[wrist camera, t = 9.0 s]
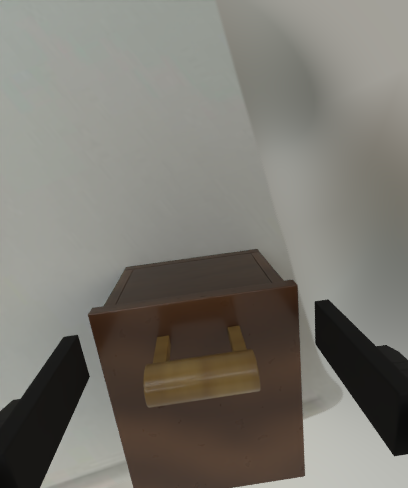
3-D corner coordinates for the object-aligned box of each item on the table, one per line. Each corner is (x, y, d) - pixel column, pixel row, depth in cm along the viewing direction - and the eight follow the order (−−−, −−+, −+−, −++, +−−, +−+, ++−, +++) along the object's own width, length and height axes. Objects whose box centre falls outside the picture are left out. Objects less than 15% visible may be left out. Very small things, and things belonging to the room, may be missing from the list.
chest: (125, 266, 25) (95, 319, 17) (257, 248, 25) (292, 291, 17) (152, 393, 29) (139, 489, 20) (267, 376, 29) (300, 464, 21)
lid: (92, 307, 16) (52, 367, 12) (292, 279, 17) (335, 325, 12) (139, 490, 20) (124, 591, 16) (300, 465, 21) (335, 556, 16)
